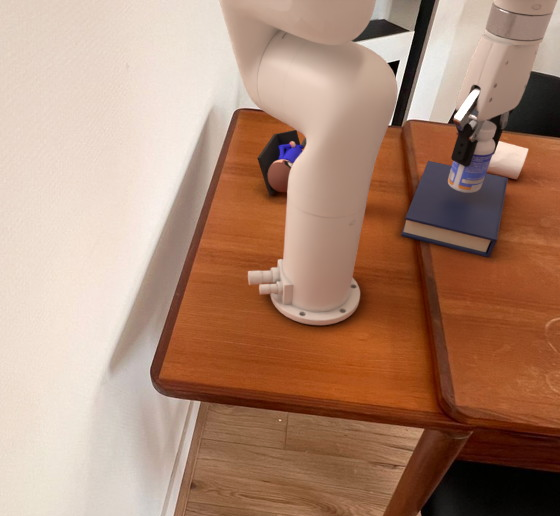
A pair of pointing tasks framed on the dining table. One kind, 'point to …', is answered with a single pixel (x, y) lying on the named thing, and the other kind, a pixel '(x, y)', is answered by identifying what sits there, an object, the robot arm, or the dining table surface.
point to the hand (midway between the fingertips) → (472, 156)
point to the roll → (507, 160)
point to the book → (456, 212)
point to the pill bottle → (474, 161)
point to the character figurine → (279, 160)
